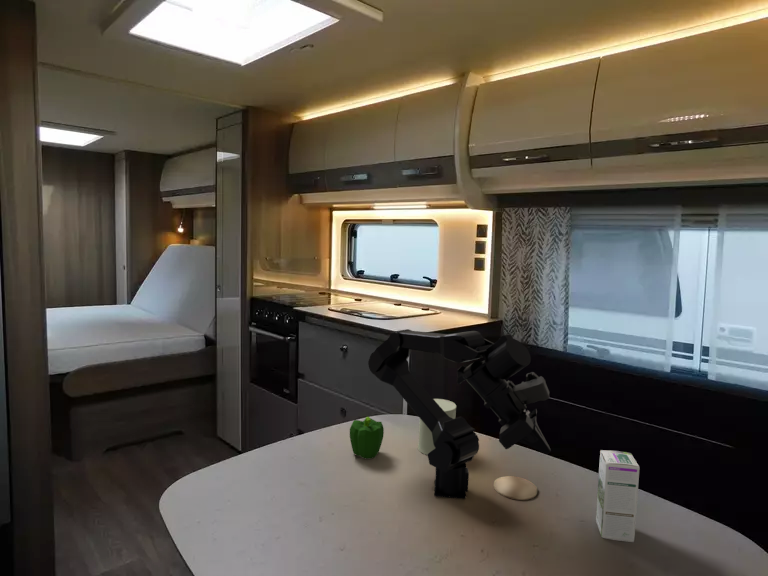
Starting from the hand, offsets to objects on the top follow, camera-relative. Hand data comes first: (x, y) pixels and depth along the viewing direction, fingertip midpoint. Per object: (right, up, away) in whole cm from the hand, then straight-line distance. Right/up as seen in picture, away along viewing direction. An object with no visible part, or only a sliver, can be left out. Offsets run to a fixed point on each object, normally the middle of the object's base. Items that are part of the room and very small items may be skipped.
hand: (548, 452), depth 95 cm
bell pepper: (-36, -10, +27) cm, 46 cm away
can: (-18, -10, +31) cm, 37 cm away
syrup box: (+11, -14, -2) cm, 18 cm away
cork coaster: (-3, -12, +12) cm, 17 cm away
